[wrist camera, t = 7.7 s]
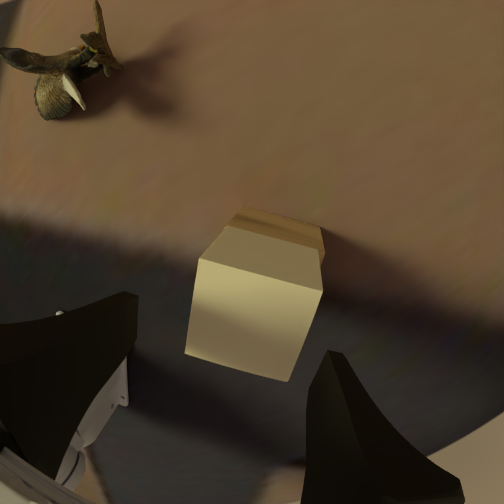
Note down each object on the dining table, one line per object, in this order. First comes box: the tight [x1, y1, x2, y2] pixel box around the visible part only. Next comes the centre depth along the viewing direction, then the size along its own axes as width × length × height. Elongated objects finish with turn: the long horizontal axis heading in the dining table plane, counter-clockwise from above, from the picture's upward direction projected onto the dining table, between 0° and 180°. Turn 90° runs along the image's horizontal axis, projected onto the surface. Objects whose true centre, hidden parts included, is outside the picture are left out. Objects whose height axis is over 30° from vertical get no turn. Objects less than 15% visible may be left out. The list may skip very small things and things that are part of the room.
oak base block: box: [225, 206, 325, 267], centre depth 18 cm, size 5×5×5 cm
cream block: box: [185, 226, 323, 382], centre depth 14 cm, size 4×4×4 cm
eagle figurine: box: [0, 0, 123, 121], centre depth 15 cm, size 8×8×10 cm
